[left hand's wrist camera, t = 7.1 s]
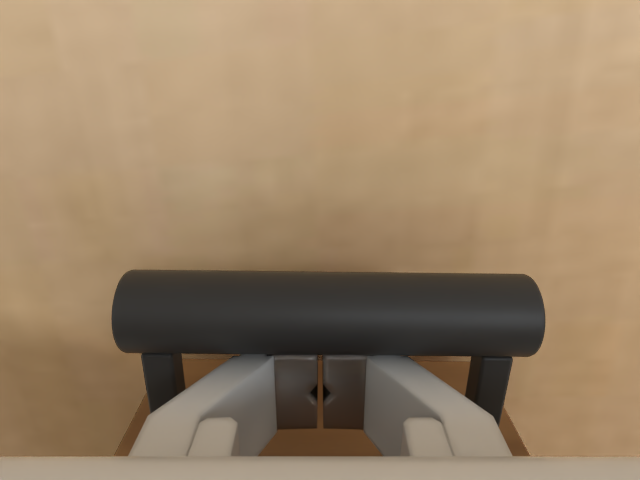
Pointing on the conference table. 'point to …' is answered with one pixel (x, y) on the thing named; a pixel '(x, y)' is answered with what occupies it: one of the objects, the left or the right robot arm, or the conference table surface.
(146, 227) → the conference table surface
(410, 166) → the conference table surface
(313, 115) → the conference table surface
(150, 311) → the drawer
